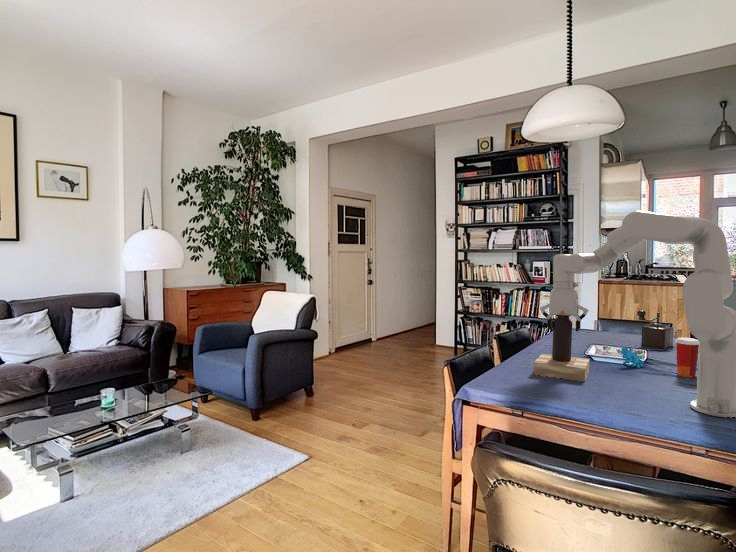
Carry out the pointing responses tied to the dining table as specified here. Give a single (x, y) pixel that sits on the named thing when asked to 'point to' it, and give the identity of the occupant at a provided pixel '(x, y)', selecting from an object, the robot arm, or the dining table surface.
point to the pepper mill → (655, 333)
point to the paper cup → (687, 356)
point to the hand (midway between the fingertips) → (563, 329)
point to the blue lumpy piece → (632, 357)
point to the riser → (562, 367)
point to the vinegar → (562, 338)
